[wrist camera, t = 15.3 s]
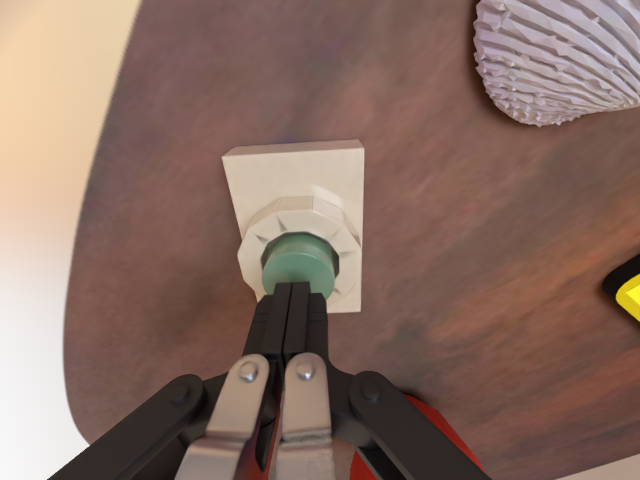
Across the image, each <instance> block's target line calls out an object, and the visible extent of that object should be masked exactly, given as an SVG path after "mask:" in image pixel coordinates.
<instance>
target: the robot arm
mask: <svg viewBox="0 0 640 480" xmlns="http://www.w3.org/2000/svg"><path fill="white" fill-rule="evenodd" d="M282 391H284V406H283V425H282V437H281V440H280V441H279V445H278V452H277V466H276V480H336V472H335V460H334V449H333V438H332V436H334V437H337V438H339V439H342V440H344V441H347V442H349V443H351V444H352V446H353V447H354V449H355V450H356V452H357V453H358V454H359V456H360V457H361V458H362V460H363V461H364V462H365V464H366V465H367V466H368V468H369V469H370V470H371V472H372V473H373V474H374V476H375V477H376V478H377V480H492V479H491V478H490V477H489V476H488V475H486V474H485V473H484V472H483V471H482V470H481V469H480V468H479V467H478V466H477V465H476V464H475V463H474V462H473V461H472V460H471V459H470V458H469V457H468V456H467V455H466V454H465V453H464V452H463V451H461V450H460V449H459V448H458V447H457V446H456V445H455V444H454V443H453V442H452V441H451V440H450V439H449V438H448V437H447V436H446V435H445V434H444V433H443V432H442V431H441V430H440V429H439V428H437V427H436V426H435V425H434V424H433V423H432V422H431V421H430V420H429V419H428V418H427V417H426V416H425V415H424V414H423V413H422V412H421V411H420V410H419V409H418V408H417V407H416V406H415V405H414V404H412V403H411V402H410V401H409V400H408V399H407V398H406V397H405V396H404V395H403V394H402V393H401V392H400V391H399V390H398V389H397V388H396V387H395V386H394V385H393V384H392V383H391V382H390V381H389V380H387V379H386V378H385V377H384V376H383V375H381V374H379V373H377V372H374V371H363V372H360V373H358V374H357V375H355V376H354V375H351V374H348V373H344V372H342V371H340V370H338V369H336V368H335V367H334V366H333V365H332V364H331V362H330V361H329V359H328V317H327V302H326V299H325V298H324V296H323V294H322V293H311V285H310V281H304V282H279V283H276V284H275V289H274V293H273V294H271V295H264V296H263V297H262V298H261V300H260V301H259V302H258V303H257V306H256V310H255V315H254V317H253V320H252V324H251V327H250V331H249V334H248V337H247V341H246V344H245V348H244V351H243V354H242V357H241V358H240V359H238V360H237V361H236V362H235V363H234V364H233V365H232V367H231V368H230V370H229V371H228V372H226V373H225V374H222V375H220V376H217V377H214V378H211V379H208V380H205V381H202V380H201V379H200V378H199V377H198V376H196V375H193V374H186V375H182V376H180V377H177V378H175V379H174V380H172V381H171V382H170V383H168V384H167V385H166V386H165V387H163V388H162V389H161V390H160V391H158V392H157V393H156V394H154V395H153V396H152V397H151V398H149V399H148V400H147V401H146V402H144V403H143V404H142V405H141V406H139V407H138V408H137V409H136V410H134V411H133V412H132V413H131V414H129V415H128V416H127V417H125V418H124V419H123V420H122V421H120V422H119V423H118V424H117V425H115V426H114V427H113V428H112V429H110V430H109V431H108V432H107V433H105V434H104V435H103V436H102V437H100V438H99V439H98V440H96V441H95V442H94V443H93V444H91V445H90V446H89V447H88V448H86V449H85V450H84V451H83V452H81V453H80V454H79V455H78V456H76V457H75V458H74V459H73V460H71V461H70V462H69V463H68V464H66V465H65V466H64V467H63V468H61V469H60V470H59V471H57V472H56V473H55V474H54V475H53V476H51V477H50V478H49V479H47V480H268V473H269V468H270V463H271V458H272V453H273V448H274V443H275V438H276V433H277V427H278V422H279V417H280V402H281V394H282Z"/></svg>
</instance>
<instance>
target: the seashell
mask: <svg viewBox="0 0 640 480" xmlns="http://www.w3.org/2000/svg"><path fill="white" fill-rule="evenodd" d="M476 10H477V15H478V18H477V20H476V21H475V22H474V23H473V24H474V29H475V30H476V34H475V37H474V38H473V41H474V44H475V47H476V50H477V52H475V53H474V56H475V61H476V62H478V63H479V66H477V67H476V70H477V71H478V73H479V74H480V76H481V77H482V78H483V84H484V86H485V88H486V91H485V92H487V93H488V94H489V96H490V98H491V99H492V100H494V102H493V103H494V104H495V105H496V106H497V107H498V108H499V109H500V110H501V111H503V112H504V113H506V114H507V115H509V116H510V117H511V118H513V119H515V120H517V121H519V122H520V123H526V124H530V125H531V124H536V125H537V126H538V127H539V128H540V127H541V126H542V125H550V124H554V123H556V124H558V125H560V123H561V122H563V121H564V122H565V121H567V120H570V121H572V120H573V119H574V118H575V117H578V118H580V116H581V115H584V114H588V113H595V112H604V111H609V112H611V111H615V110H616V111H618V110H622V109H629V108H634V107H638V106H640V0H481V1H480V2H479V3H478V4H477V5H476Z"/></svg>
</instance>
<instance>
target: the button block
mask: <svg viewBox="0 0 640 480" xmlns="http://www.w3.org/2000/svg"><path fill="white" fill-rule="evenodd" d="M364 152H365V149H364V147H363V145H362V144H361V142H360V140H359V139H354V140H337V141H321V142H304V143H288V144H272V145H255V146H239V147H234V148H232V149H231V150H230V151H228V152H227V153H226V154H225V155H223V156H222V161H223V165H224V169H225V173H226V177H227V181H228V185H229V189H230V193H231V197H232V201H233V205H234V209H235V213H236V217H237V221H238V225H239V229H240V233H241V238H242V243H241V246H240V248H239V251H238V253H237V257H238V260H239V264H240V268H241V272H242V275H243V279H244V281H245V282H246V283H247V284H248V285H249V286H250V287H251V288H252V289H253V290H254V291H255V294H256V298H257V302H259V301H260V300H261V298H262V297H263V296H264V295H267V293H266V292H265V290H264V288H263V285H262V272H263V269H264V266H265V263H266V259H267V256H268V253H269V251H270V249H271V247H272V246H273V245H274V244H275V243H276V242H277V241H278V240H280V239H282V238H284V237H286V236H289V235H294V234H305V235H310V236H313V237H315V238H317V239H319V240H321V241H322V242H324V243H325V244H326V245H327V246H328V247H329V249H330V250H331V252H332V254H333V258H334V270H335V286H334V290H333V292H332V294H331V295H330V296H329V298H328V299H327V300H326V302H327V313H342V312H360V311H361V276H362V235H363V194H364Z"/></svg>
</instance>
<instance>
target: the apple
mask: <svg viewBox="0 0 640 480" xmlns="http://www.w3.org/2000/svg"><path fill="white" fill-rule="evenodd" d="M403 395H404V394H403ZM404 396H405V397H406V398H407V399H408V400H409V401H410V402H411V403H412V404H414V405H415V406H416V407H417V408H418V409H419V410H420V411H421V412H422V413H423V414H424V415H425V416H426V417H427V418H428V419H429V420H430V421H431V422H432V423H433V424H434V425H435V426H436V427H437V428H439V429H440V430H441V431H442V432H443V433H444V434H445V435H446V436H447V437H448V438H449V439H450V440H451V441H452V442H453V443H454V444H455V445H456V446H457V447H458V448H459V449H460V450H461V451H463V452H464V453H465V454H466V455H467V456H468V457H469V458H470V459H471V460H472V461H473V462H474V463H475V464H476V465H477V466H478V467H479V468H480V469H481V470H482V471H483V472H484V473H485V471H484V470H483V468H482V466H481V464H480V462H479V460H478V459H477V458H476V456H475V455H474V454H473V453H472V452H471V450H470V449H469V448H468V447H467V446H466V444H465V443H464V442H463V441H462V439H461V438H460V437H459V436H458V435H457V433H456V432H455V431H454V430H453V428H452V427H451V426H450V425H449V424H448V422H447V421H446V420H445V419H444V418H443V416H442V415H441V414H440V413H439V411H437V410H436V409H434V408H432V407H430V406H428V405H427V404H425V403H423V402H421V401H419V400H418V399H416V398H414V397H412V396H410V395H404ZM485 474H486V473H485ZM350 480H377V478H376V477H375V476H374V474H373V473H372V472H371V470H370V469H369V468H368V466H367V465H366V464H365V462H364V461H363V460H362V458H361V457H360V456H359V454H358V453H357V452H356V450H355V454H354V457H353V461H352V465H351V468H350Z"/></svg>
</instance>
